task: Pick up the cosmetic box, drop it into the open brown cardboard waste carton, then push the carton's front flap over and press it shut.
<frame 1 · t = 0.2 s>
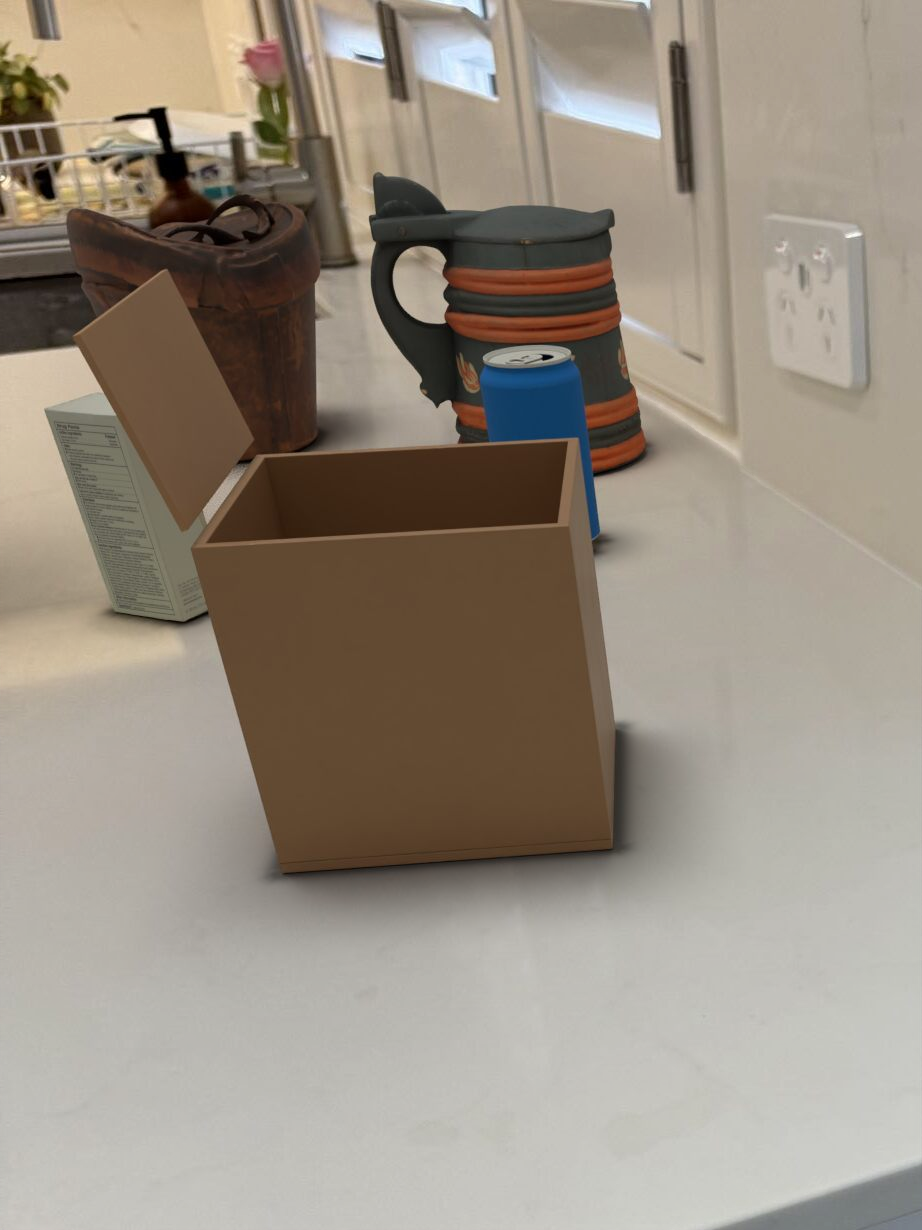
beverage can: (554, 549, 109), on the worktop
flap: (174, 394, 65), point 19 cm above the worktop, hinge at 105.0°
cosmetic box: (170, 610, 100), on the worktop
brown plant pot: (246, 445, 132), on the worktop
beer stein: (528, 462, 126), on the worktop
carton: (461, 795, 78), on the worktop
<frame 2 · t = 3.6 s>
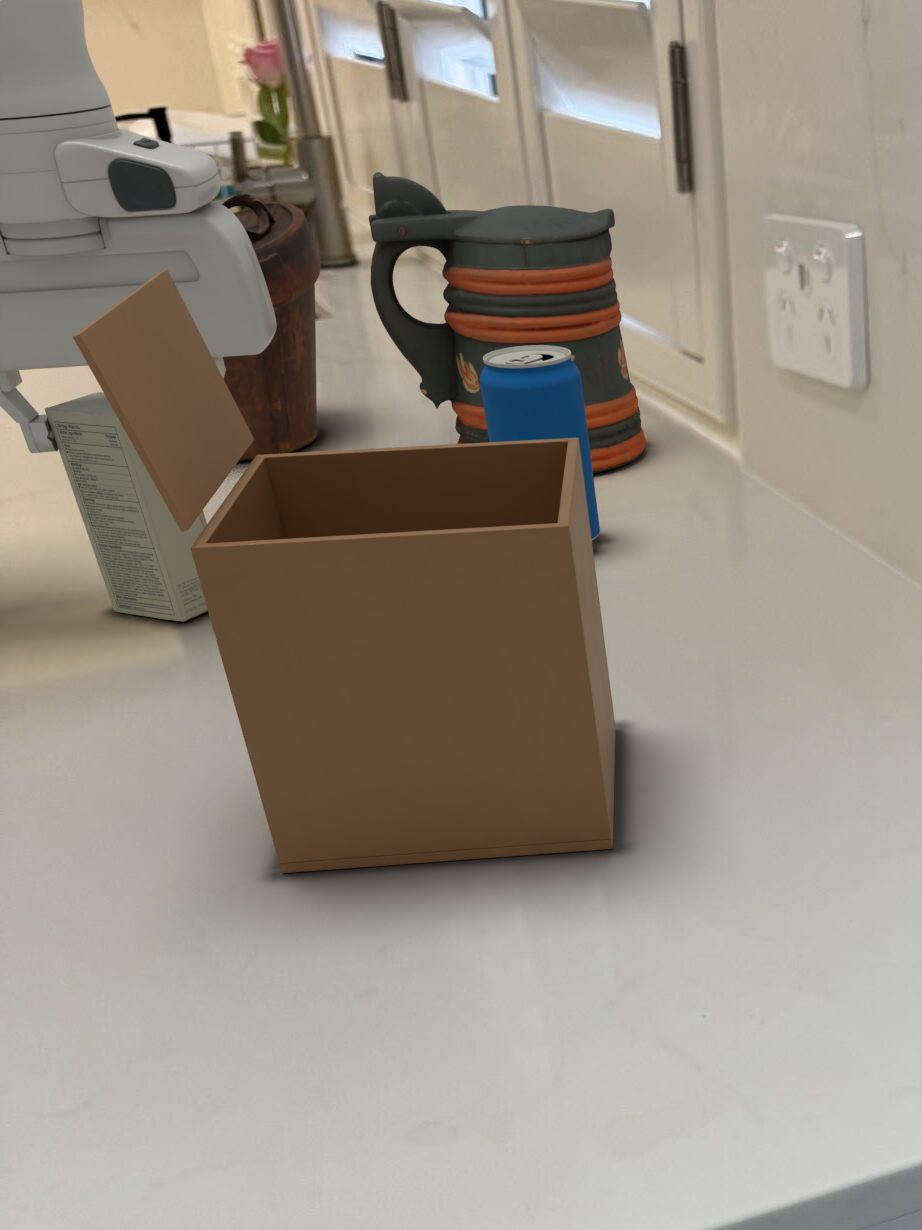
hand: (128, 444, 94), 10 cm above the worktop, tool pointing down, fingers open, 8 cm apart
cosmetic box: (170, 610, 100), on the worktop, touching gripper
everything else where it was.
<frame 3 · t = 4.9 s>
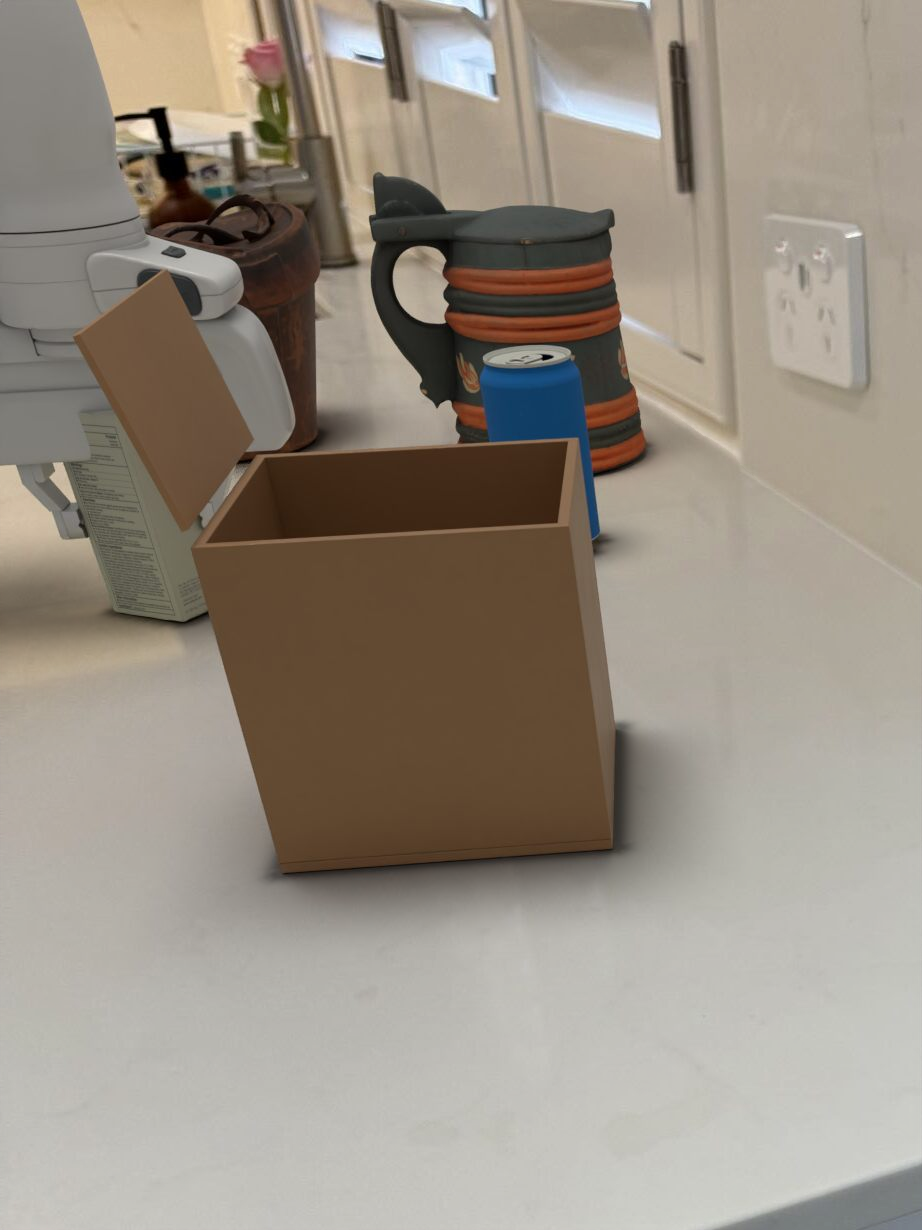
hand: (149, 532, 97), 5 cm above the worktop, tool pointing down, fingers closed on cosmetic box, 7 cm apart
cosmetic box: (171, 611, 100), on the worktop, touching gripper
everything else where it was.
when the fingers open (17 cm above the worktop, at t = 13.6 s): cosmetic box drops 12 cm, resting on carton.
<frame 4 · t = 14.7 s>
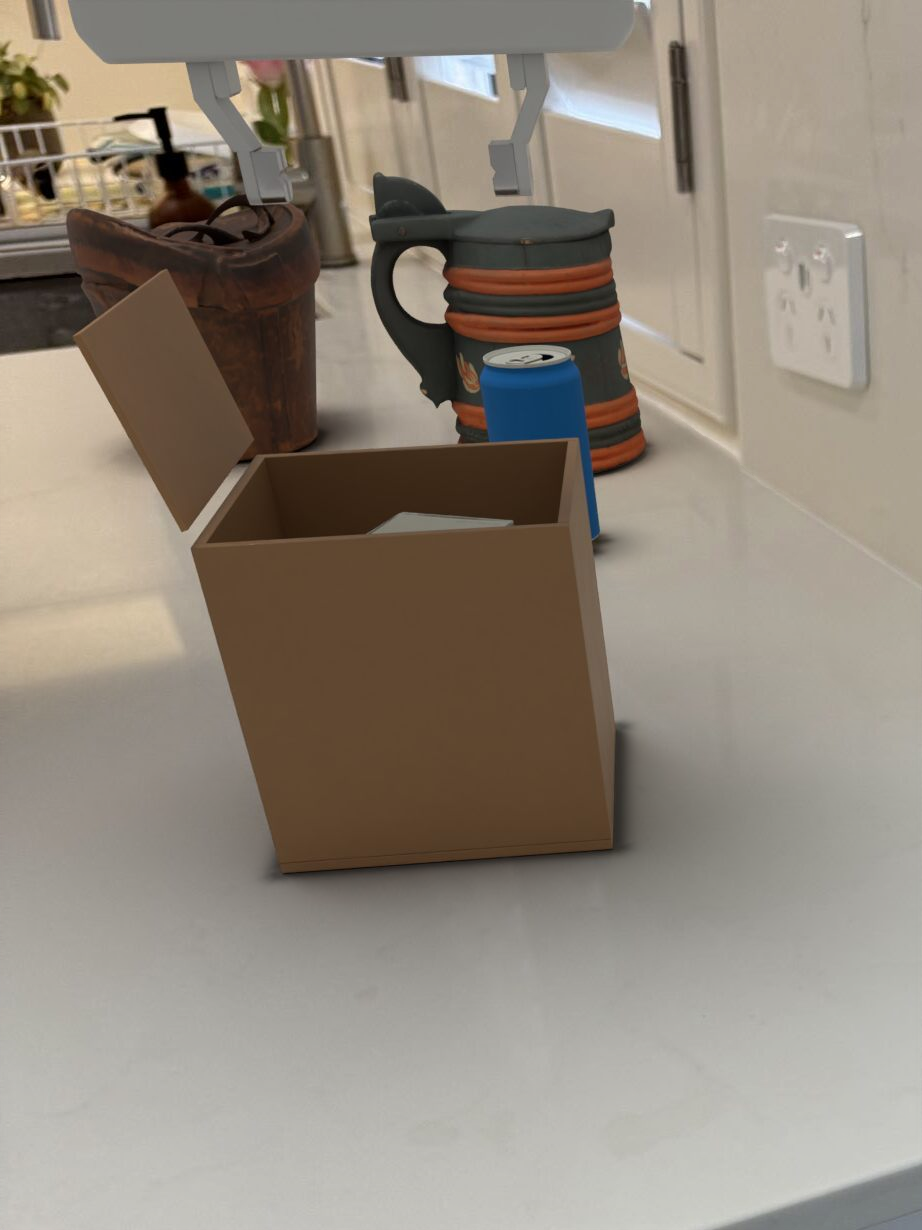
hand: (394, 199, 62), 25 cm above the worktop, tool pointing down, fingers open, 8 cm apart
cosmetic box: (489, 784, 78), resting on carton
everything else where it was.
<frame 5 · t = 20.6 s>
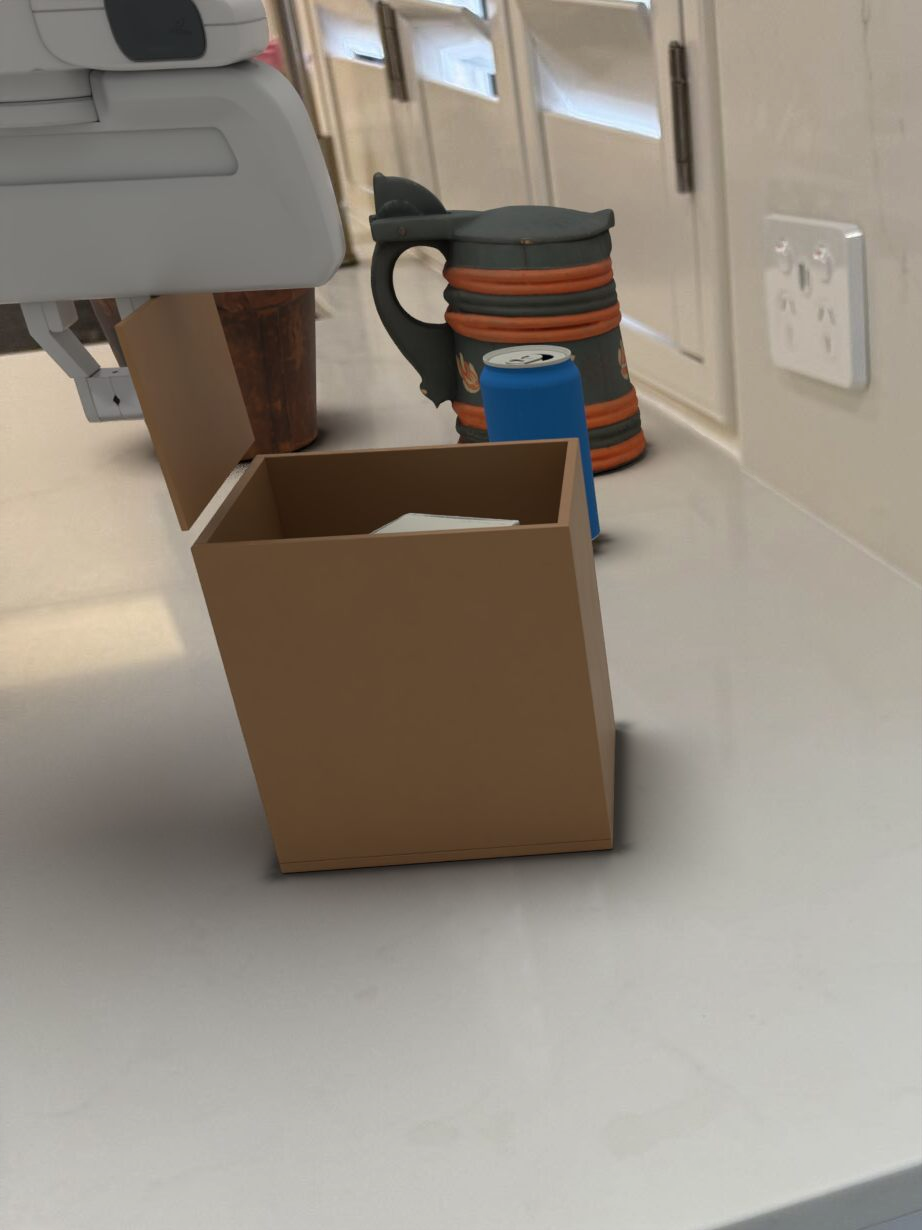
hand: (129, 418, 66), 18 cm above the worktop, tool pointing down, fingers closed
flap: (192, 389, 65), point 19 cm above the worktop, hinge at 92.5°, touching gripper
everything else where it was.
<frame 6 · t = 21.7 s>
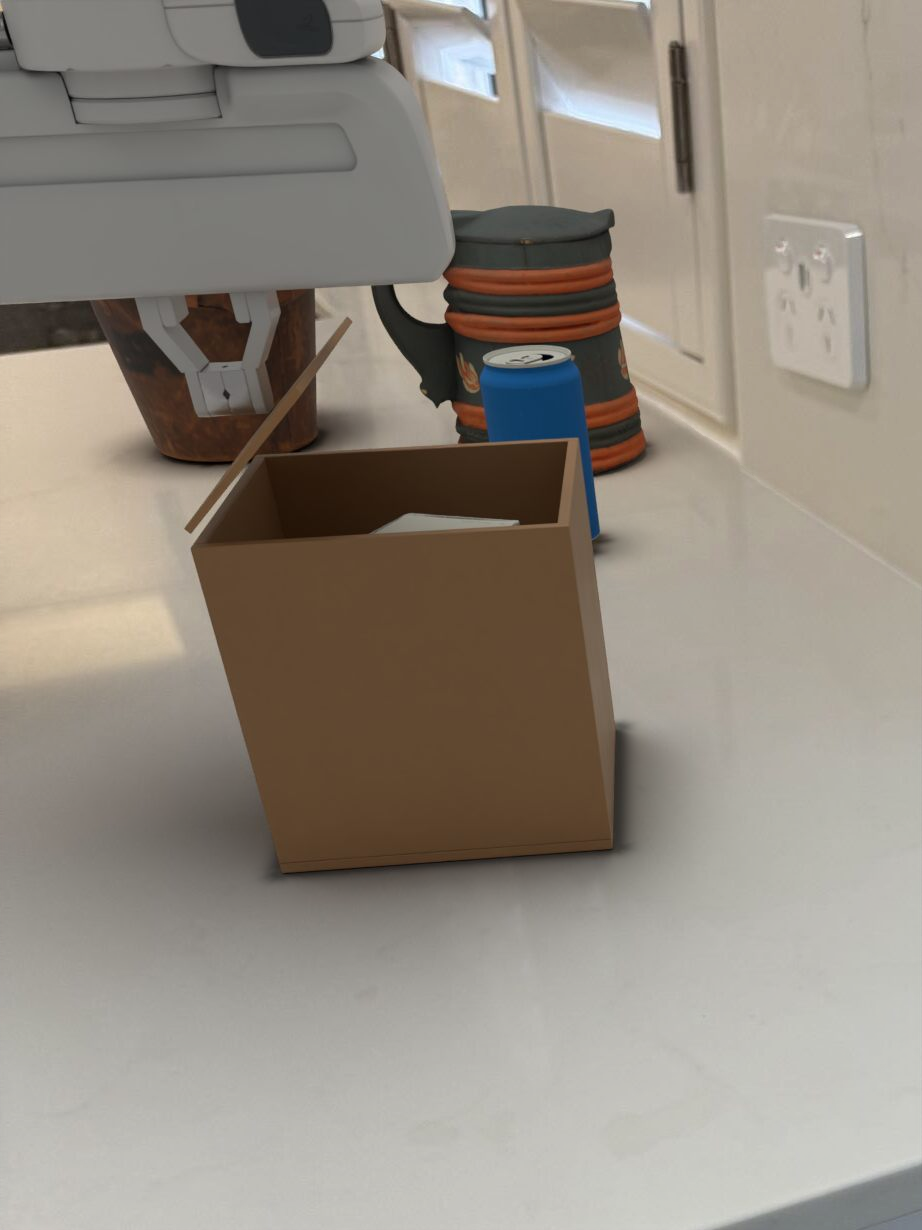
hand: (236, 412, 66), 18 cm above the worktop, tool pointing down, fingers closed
flap: (273, 418, 66), point 18 cm above the worktop, hinge at 41.5°, touching gripper
everything else where it was.
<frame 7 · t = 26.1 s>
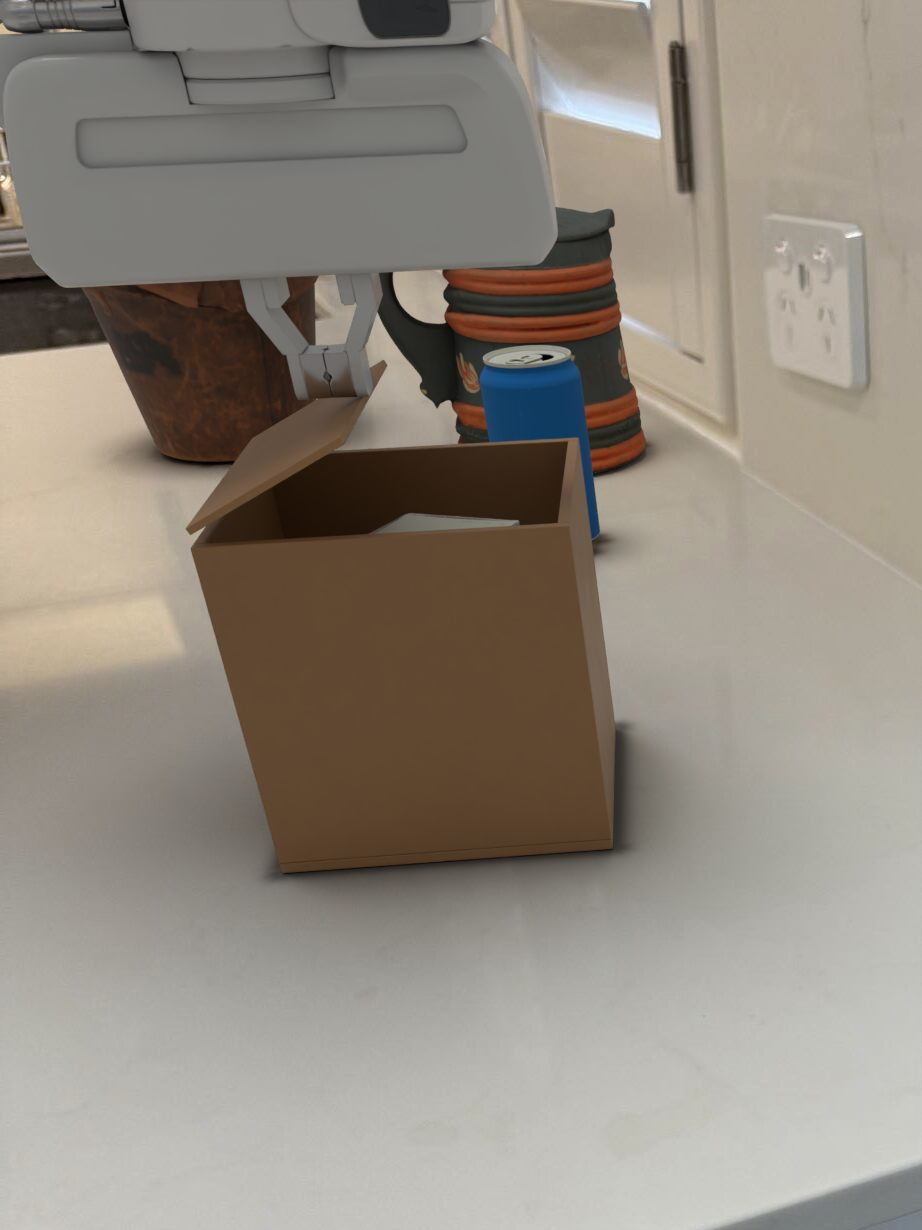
hand: (336, 395, 66), 18 cm above the worktop, tool pointing down, fingers closed
flap: (293, 441, 67), point 17 cm above the worktop, hinge at 24.5°, touching gripper
everything else where it was.
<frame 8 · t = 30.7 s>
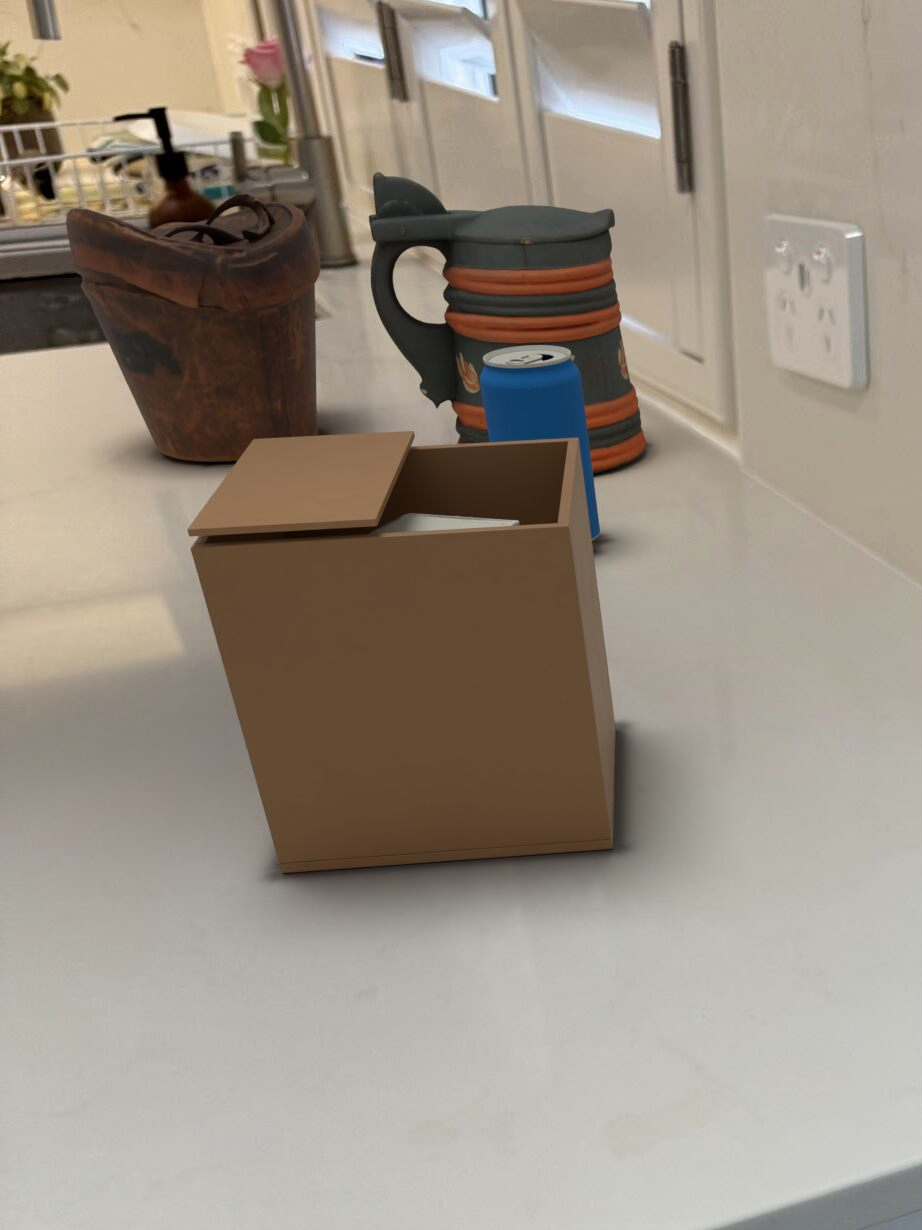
flap: (310, 479, 68), point 15 cm above the worktop, hinge at -0.1°
everything else where it was.
at the end: cosmetic box inside the target area in the carton (1.4 cm from its centre), point 0.3 cm above the carton's base; flap at +0° (first picture: +105°) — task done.
